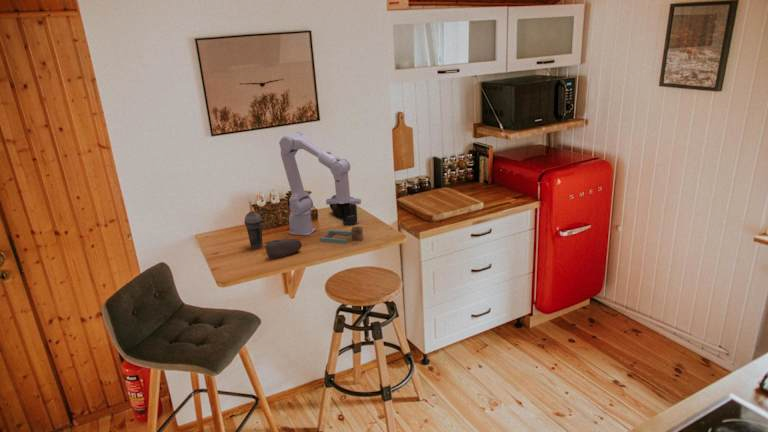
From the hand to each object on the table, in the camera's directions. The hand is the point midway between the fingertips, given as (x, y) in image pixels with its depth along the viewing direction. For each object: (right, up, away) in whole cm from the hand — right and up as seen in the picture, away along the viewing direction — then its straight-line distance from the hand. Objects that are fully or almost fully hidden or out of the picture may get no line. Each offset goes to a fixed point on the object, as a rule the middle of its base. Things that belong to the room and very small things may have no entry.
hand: (345, 220), depth 222 cm
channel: (-4, -8, +4) cm, 10 cm away
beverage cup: (-37, -11, 0) cm, 39 cm away
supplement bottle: (+1, -2, +22) cm, 22 cm away
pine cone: (-3, +2, +33) cm, 33 cm away
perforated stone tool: (-24, -14, -10) cm, 29 cm away
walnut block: (+5, -8, +2) cm, 10 cm away
